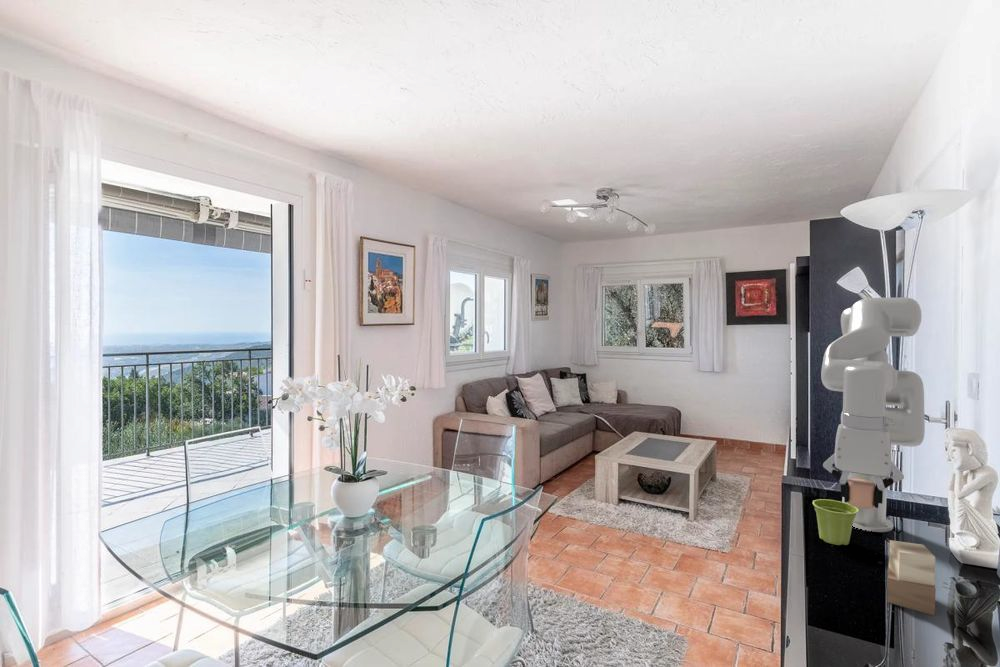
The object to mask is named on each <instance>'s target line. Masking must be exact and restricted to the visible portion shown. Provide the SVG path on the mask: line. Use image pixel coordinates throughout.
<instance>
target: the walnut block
mask: <svg viewBox="0 0 1000 667" xmlns="http://www.w3.org/2000/svg"><path fill="white" fill-rule="evenodd" d="M887 566H888V567H887V568H888V569H887V570H888V571H887V595H886V596H887V597H886V599H887V601H886V602H887V603H888V604H892V605H896V606H900V607H903V608H906V609H910V610H913V611H916V612H917V611H918V612H922V613H925V614H928V615H933V616H935V614H936V613H935V611H936V584H935V583H934V586H933V585H927V584H920V583H914V582H908V581H901V580H898V578H897V577H896V576H895V574H894V573H893V572H892V570H891V569H890V568H889V563H888V565H887Z"/></svg>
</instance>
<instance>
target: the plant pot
mask: <svg viewBox="0 0 1000 667" xmlns="http://www.w3.org/2000/svg"><path fill="white" fill-rule="evenodd" d="M812 505H813V507H814V511H815V513H816V521H817V529H818V535H819V536H818V537H819V539H820V540H823V541H824V542H825V543H828V544H831V545H835V546H841V545H844V546H847V545H848V546H849V544H850V540H851V535H852V529H853V527H852V525H853V521H854V518H855V516H856V514H857V513H858V509H857V508H856V507H854V506H852V505H850V504H847V503H844V502H842V501H839V500H835V499H825V498H823V499H822V498H819V499H818V498H817V499H815V500H814V499H813V500H812Z"/></svg>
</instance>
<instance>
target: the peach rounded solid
mask: <svg viewBox="0 0 1000 667" xmlns="http://www.w3.org/2000/svg"><path fill="white" fill-rule="evenodd" d="M848 485H849V489H848V504H850V505H852V506H854V507H857V508H862V509H873V508H874V496H875V483H873V482H871V481H868V480H864V479H849V480H848Z"/></svg>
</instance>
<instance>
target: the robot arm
mask: <svg viewBox="0 0 1000 667" xmlns="http://www.w3.org/2000/svg"><path fill="white" fill-rule="evenodd" d="M921 322H922V309H921V306H920V304H919V302H918V301H917V300H915V299H914V298H912V297H906V296H905V297H868V298H867V297H866V298H862V299H859V300H858V301H856V302H854V304H853V305H852V306H851V307H847V308H846V309H844V310H843V311H842V313H841V315H840V327H841V333H842V336H840V337H838V338H837V339H835V340H834V341H832V342H831V343H830V344H829V345H827V348H826V349H825V351H824V353H823V359H822V364H821V370H820V371H821V372H820V374H821V375H820V377H821V382H822V385H823V386H824V387H825V388H826V389H827V390H828V391H834V392H842V395H843V396H842V411H841V413H840V424H838V426H837V430H836V435H835V441H834V442H835V446H834V453H833V454H832V455H831V456H829V457H828V458H827V459H826V460H825V461H824V462H823V464H822V467H823V468H824V469H825V470H827V472H829V473H830V474H831V475H832V476H833V477H834V478H835V479H836V480H837V481H838V482H839V484H840V497H842V500H841V502H844V503H847V504H848V489H849V485H848V480H849V479H864V480H868V481H871V482H873V483H875V496H874V508H873V509H862V508H857V507H856V508H857V509H858V513H857V514H856V516H855V518H854V521H853V525H852V526H853V527H855V528H854V529H856V528H858V529H857V530H860V529H862V530H861V531H865V530H866V531H865V532H871V531H872V533H874V532H875V533H888V532H891V531H892V530H894V523H893V522H892V521H891V520H890V519H888V518H887V516H886V515H887V496H888V495H887V494H888V493H887V492H888V491H887V490H888V487H890V486H891V485H893V484H895V483H897V482H899V481H902V480H904V479H905V476H904V473H903V472H902V471H901V470H900V469H899V467H898V466H897V465H896V464H895V463H894V462H893V460H892V446H902V447H910V448H911V447H912V448H913V447H914V448H915V447H918V446H920V445H922V443H923V441H924V439H925V428H926V427H925V425H926V424H925V420H926V419H925V388H924V383H923V379H922V377H921V376H920V375H919V374H918V373H916V372H914V371H909V370H900V369H899V370H897V369H896V368H895V367H894V366H893V365H892V364H891V363H889V354H888V353H887V351H886V348H887V347H888V346H889V345H890V340H891V337H900V338H901V337H906V338H907V337H914V335H916V334H917V332H918V330H919V329H920V326H921ZM889 406H894V407H889ZM833 464H834V466H833ZM891 473H892V474H891ZM853 527H852V528H853Z"/></svg>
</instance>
